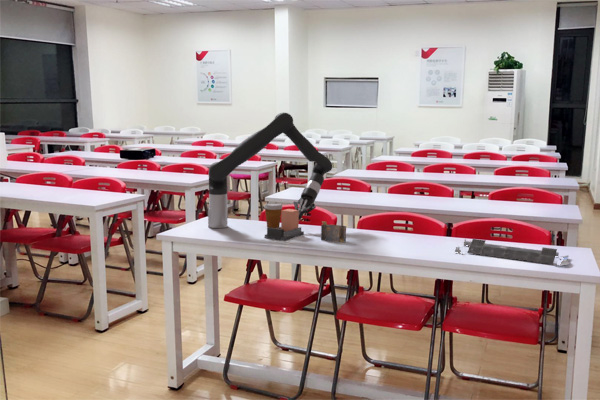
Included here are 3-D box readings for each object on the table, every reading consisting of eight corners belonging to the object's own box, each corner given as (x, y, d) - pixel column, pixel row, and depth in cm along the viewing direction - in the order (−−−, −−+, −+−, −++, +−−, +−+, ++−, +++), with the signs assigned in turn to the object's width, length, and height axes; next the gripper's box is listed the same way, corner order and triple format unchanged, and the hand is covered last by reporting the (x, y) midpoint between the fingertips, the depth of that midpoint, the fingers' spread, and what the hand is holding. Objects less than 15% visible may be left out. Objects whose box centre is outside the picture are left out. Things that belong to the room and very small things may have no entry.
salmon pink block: (288, 228, 285) (288, 208, 284) (298, 230, 282) (298, 210, 281) (281, 230, 280) (281, 210, 279) (291, 232, 277) (291, 211, 276)
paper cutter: (465, 246, 264) (466, 234, 263) (572, 259, 240) (574, 246, 240) (453, 253, 248) (454, 241, 247) (567, 269, 225) (568, 255, 224)
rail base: (285, 231, 288) (285, 222, 287) (303, 234, 282) (303, 224, 281) (264, 237, 274) (264, 227, 273) (283, 240, 268) (283, 230, 267)
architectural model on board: (320, 241, 270) (321, 220, 268) (322, 239, 273) (323, 219, 271) (343, 243, 266) (344, 222, 264) (345, 242, 269) (346, 221, 267)
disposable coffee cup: (261, 228, 296) (261, 205, 295) (267, 224, 305) (267, 202, 304) (278, 229, 294) (279, 206, 292) (284, 226, 303) (285, 203, 301)
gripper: (297, 185, 296) (283, 212, 287) (319, 187, 289) (306, 215, 280) (302, 194, 301) (289, 221, 293) (324, 197, 294) (311, 224, 286)
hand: (297, 218), depth 286 cm, fingers closed
